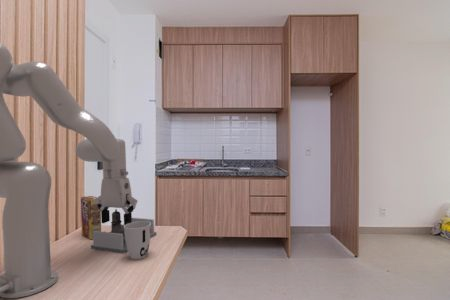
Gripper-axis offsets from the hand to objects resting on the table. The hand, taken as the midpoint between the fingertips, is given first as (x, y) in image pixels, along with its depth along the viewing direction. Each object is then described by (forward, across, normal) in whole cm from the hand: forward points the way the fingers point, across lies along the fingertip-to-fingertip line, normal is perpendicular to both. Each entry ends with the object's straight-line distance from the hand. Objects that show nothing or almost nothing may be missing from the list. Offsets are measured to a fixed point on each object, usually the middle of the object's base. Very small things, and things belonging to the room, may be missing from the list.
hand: (116, 223), depth 95 cm
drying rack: (+8, 0, -4) cm, 9 cm away
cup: (+8, -13, +5) cm, 16 cm away
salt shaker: (+7, 0, 0) cm, 7 cm away
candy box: (+8, +17, -5) cm, 20 cm away
